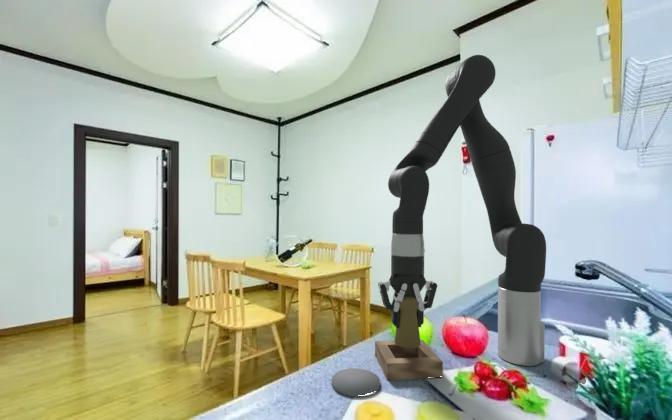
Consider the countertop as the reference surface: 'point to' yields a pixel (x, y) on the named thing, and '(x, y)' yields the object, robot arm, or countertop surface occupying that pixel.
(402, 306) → the brown pawn
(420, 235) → the robot arm
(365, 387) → the coaster
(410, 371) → the pocket block
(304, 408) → the countertop surface
